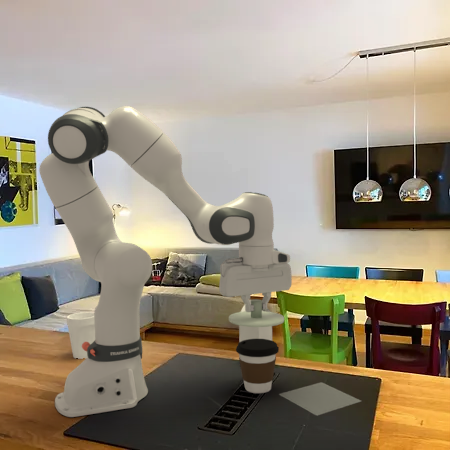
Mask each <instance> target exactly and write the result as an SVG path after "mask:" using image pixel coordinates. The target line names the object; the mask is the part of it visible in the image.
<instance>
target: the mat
mask: <svg viewBox="0 0 450 450" xmlns="http://www.w3.org/2000/svg"><path fill="white" fill-rule="evenodd" d="M278 395H279V396H280V397H283V398H284V399H286V400H288V401H289V402H291V403H292V404H294V405H297V406H298V407H300V408H301V409H303V410H306V411H308V412H309V413H311V414H312V415H314V416H316V417H318V416H320V415H324V414H327V413H330V412H333V411H336V410H340V409H342V408H345V407H348V406H352V405H355V404H357V403H360V402H362V400H360V399H359V398H356V397H355V396H352V395H350V394H349V393H345V392H344V391H341V390H339V389H337V388H335V387H332V386H330V385H328V384H326V383H324V382H322V381H321V382H317V383H314V384H310V385H306V386H303V387H299V388H296V389H292V390H288V391H285V392H281V393H278Z"/></svg>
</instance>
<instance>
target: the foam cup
mask: <svg viewBox="0 0 450 450" xmlns="http://www.w3.org/2000/svg"><path fill="white" fill-rule="evenodd" d="M66 326H67V329H68V333H69V335H68V336H69V340H70V341H69V342H70V346H71V347H70V348H71V351H72V356H73V359H76V358H78V359H77V360H81V359H83V358H85V359H86V358H88V356H87V351H85V350H84V349H83V348H82V344H83V343H84V342H89V343H90V344H92V343H93V342H94V341H95V320H94V312H91V311H89V312H88V311H87V312H86V311H85V312H76V313H71V314H69V315H67V316H66Z"/></svg>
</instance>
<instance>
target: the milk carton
mask: <svg viewBox="0 0 450 450" xmlns="http://www.w3.org/2000/svg"><path fill="white" fill-rule="evenodd" d="M248 300H249V302H250V304H251V300H252V299H248ZM244 311H245V304H243V306H242V308H241V310H240V312H244ZM262 311H267V312H272V311H271V310H270V309H269V307H267V310H262ZM238 329H239V330H238V331H239V332H238V333H239V335H238V336H239V338H238V339H239V342H241V341H243V340H248V339H267V340H271V341H273V326H269V327H247V326H240V325H238ZM239 342H238V343H239Z"/></svg>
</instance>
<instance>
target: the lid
mask: <svg viewBox="0 0 450 450" xmlns="http://www.w3.org/2000/svg"><path fill="white" fill-rule="evenodd" d="M250 300H251V305H254V308H253V309H254V311H253V312H246V311H244V312H241V311H237V312H234V313H231V314H230V315H229V316H228V322H230V323H231V324H233V325H236V326H239V325H240V326H247V327H269V326H272V327H275V326H278V325H281V324H283V323H284V322H285V317H284V315H282V314H280V313H278V312H273V311H271V312H267V311H262V299H256V298H255V299H250Z"/></svg>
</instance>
